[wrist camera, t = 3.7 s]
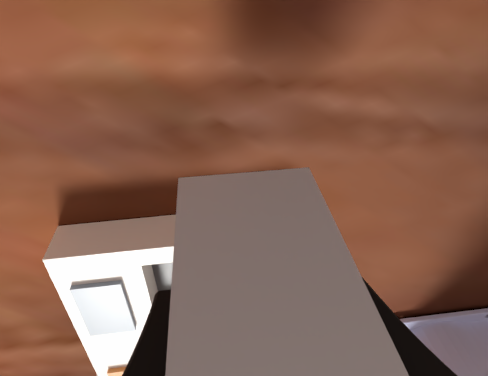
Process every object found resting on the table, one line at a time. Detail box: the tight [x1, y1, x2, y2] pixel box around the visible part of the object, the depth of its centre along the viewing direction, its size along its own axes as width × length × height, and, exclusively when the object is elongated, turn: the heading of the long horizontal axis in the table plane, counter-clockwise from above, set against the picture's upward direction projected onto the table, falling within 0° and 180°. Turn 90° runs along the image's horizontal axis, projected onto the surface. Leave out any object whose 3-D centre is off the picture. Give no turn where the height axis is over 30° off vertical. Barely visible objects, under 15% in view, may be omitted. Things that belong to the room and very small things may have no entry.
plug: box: [165, 168, 409, 376], centre depth 10 cm, size 4×4×9 cm
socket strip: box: [43, 215, 176, 376], centre depth 25 cm, size 12×16×3 cm
